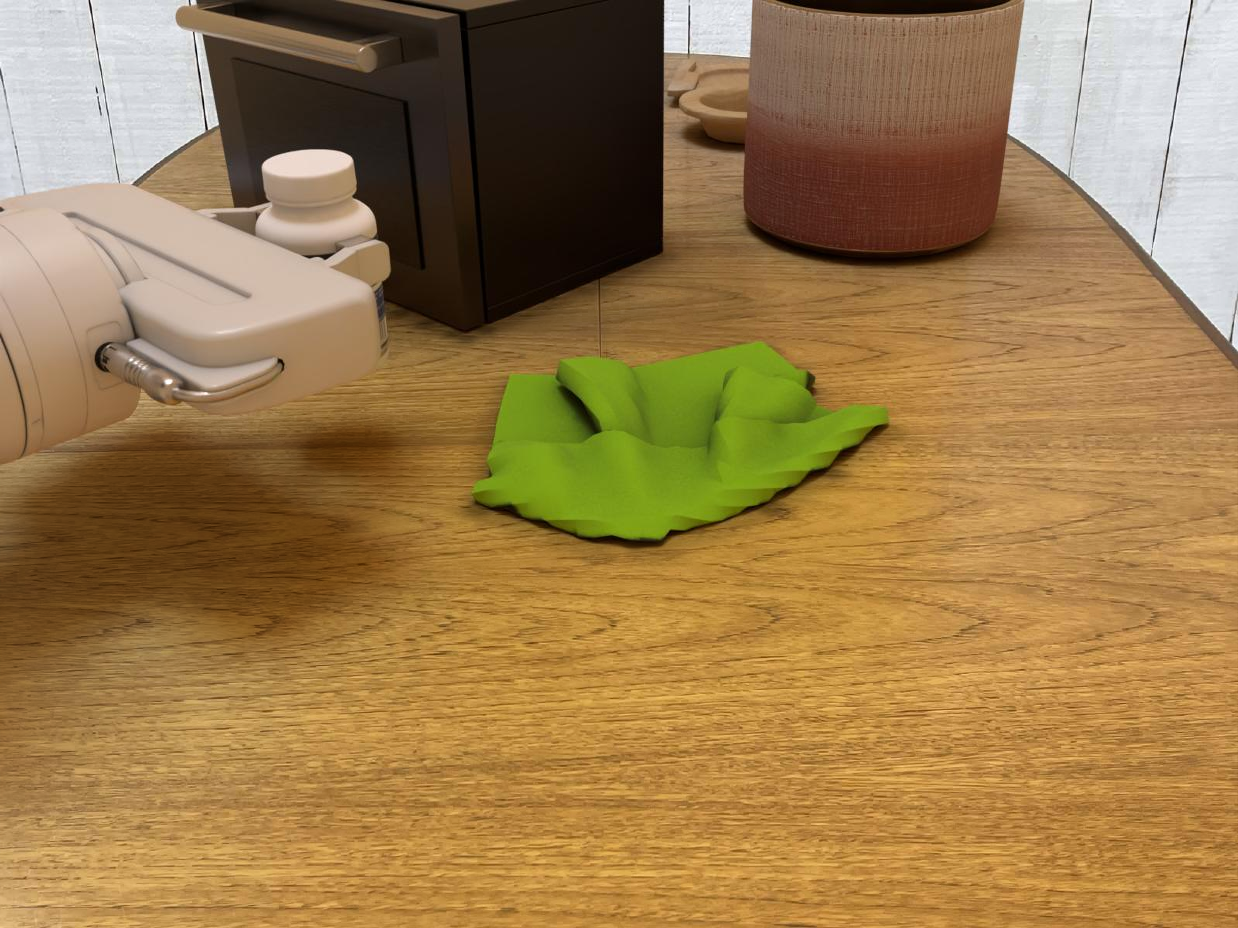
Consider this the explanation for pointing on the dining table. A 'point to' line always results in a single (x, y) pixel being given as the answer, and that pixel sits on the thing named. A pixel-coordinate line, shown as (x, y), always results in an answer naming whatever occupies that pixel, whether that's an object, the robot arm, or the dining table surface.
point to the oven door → (358, 124)
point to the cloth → (661, 441)
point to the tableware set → (714, 97)
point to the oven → (561, 140)
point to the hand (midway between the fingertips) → (333, 236)
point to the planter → (878, 122)
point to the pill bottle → (317, 211)
